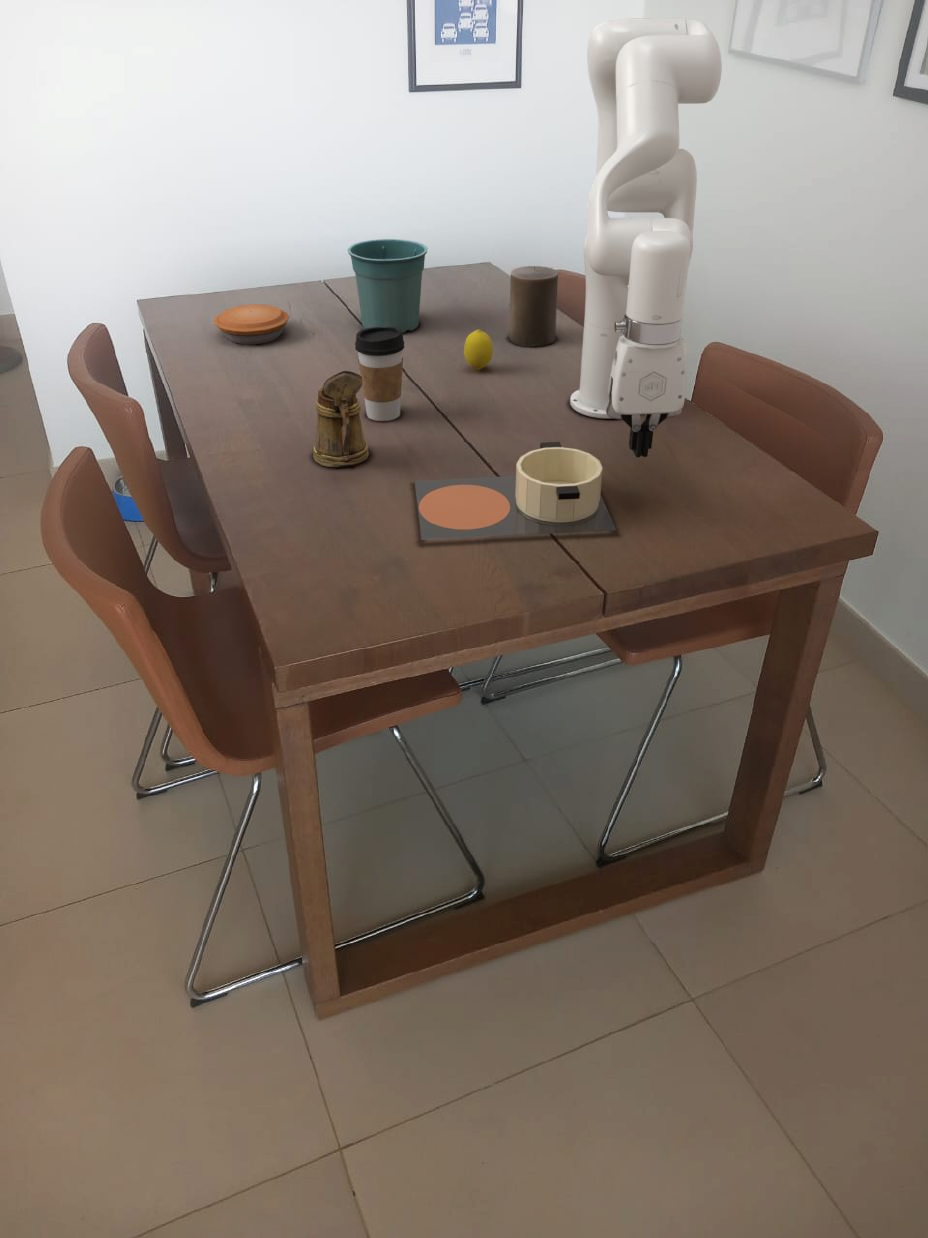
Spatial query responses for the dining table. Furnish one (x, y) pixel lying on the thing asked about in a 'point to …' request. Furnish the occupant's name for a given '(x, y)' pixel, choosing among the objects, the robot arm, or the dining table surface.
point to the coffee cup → (381, 370)
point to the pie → (252, 323)
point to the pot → (558, 483)
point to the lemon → (478, 349)
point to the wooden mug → (340, 422)
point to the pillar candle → (533, 305)
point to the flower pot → (389, 281)
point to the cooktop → (487, 511)
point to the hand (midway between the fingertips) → (639, 452)
